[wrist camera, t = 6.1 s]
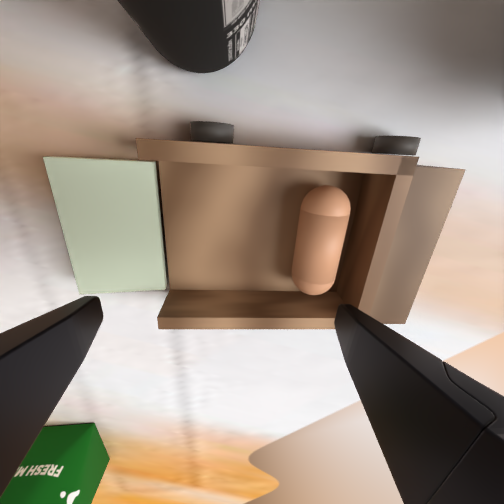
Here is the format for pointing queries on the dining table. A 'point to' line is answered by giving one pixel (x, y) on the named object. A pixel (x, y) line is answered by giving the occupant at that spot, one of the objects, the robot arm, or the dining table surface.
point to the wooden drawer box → (291, 229)
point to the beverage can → (196, 29)
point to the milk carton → (60, 467)
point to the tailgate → (110, 222)
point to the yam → (320, 239)
